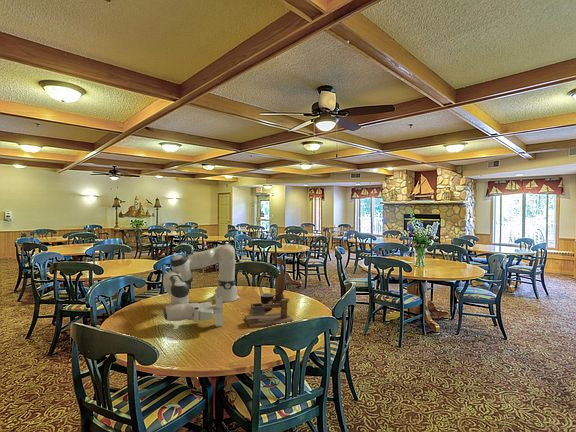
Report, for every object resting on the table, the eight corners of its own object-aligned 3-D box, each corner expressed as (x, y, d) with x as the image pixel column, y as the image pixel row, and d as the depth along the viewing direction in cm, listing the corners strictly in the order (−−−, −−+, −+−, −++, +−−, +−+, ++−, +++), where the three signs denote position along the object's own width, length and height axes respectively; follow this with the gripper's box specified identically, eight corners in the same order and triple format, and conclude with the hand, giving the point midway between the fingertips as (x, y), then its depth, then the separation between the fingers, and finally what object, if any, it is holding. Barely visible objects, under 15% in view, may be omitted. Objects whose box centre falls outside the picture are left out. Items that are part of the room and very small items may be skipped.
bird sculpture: (284, 306, 224) (286, 259, 223) (268, 303, 228) (270, 257, 227) (289, 301, 235) (292, 257, 234) (274, 299, 239) (276, 255, 238)
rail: (215, 324, 186) (215, 296, 185) (221, 324, 187) (222, 296, 186) (215, 326, 182) (216, 298, 182) (222, 326, 183) (222, 297, 183)
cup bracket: (244, 318, 197) (245, 298, 197) (286, 315, 205) (286, 295, 204) (249, 328, 182) (250, 306, 181) (294, 324, 189) (294, 303, 189)
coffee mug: (261, 312, 208) (261, 297, 208) (259, 308, 216) (259, 293, 216) (279, 311, 211) (279, 296, 211) (276, 307, 220) (276, 292, 219)
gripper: (194, 310, 191) (218, 309, 195) (195, 323, 171) (222, 321, 175) (194, 300, 190) (219, 298, 194) (195, 311, 171) (222, 309, 175)
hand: (220, 309), depth 185 cm, fingers closed on rail, 4 cm apart
